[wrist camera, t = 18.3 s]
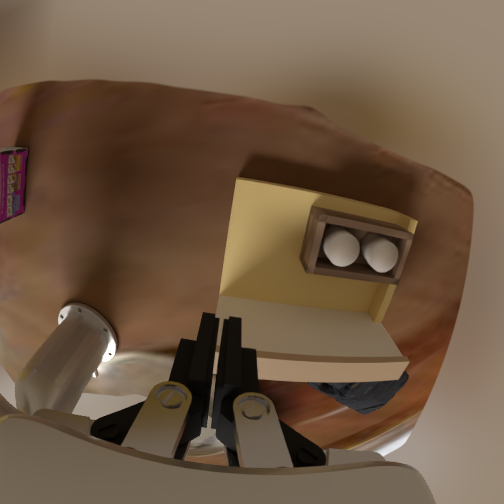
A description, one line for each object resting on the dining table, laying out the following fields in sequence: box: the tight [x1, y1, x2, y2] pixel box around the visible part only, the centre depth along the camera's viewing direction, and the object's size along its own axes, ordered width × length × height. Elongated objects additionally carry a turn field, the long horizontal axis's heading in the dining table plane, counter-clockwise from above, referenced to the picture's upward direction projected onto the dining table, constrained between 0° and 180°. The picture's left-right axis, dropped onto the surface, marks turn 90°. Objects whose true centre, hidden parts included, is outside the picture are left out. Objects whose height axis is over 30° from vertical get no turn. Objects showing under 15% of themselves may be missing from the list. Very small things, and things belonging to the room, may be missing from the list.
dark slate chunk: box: [307, 371, 408, 414], centre depth 43 cm, size 15×22×5 cm
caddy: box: [299, 206, 414, 285], centre depth 30 cm, size 6×12×5 cm, turn 81°
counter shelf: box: [213, 177, 418, 382], centre depth 29 cm, size 17×23×14 cm
